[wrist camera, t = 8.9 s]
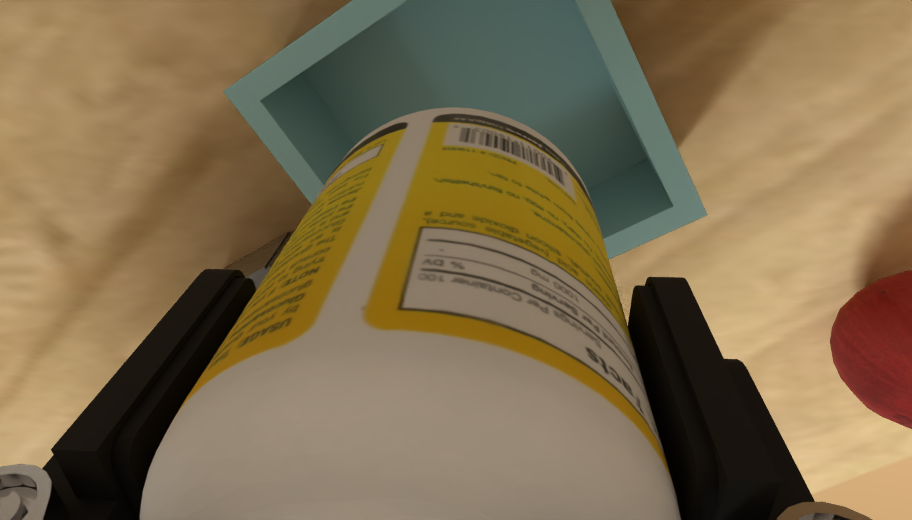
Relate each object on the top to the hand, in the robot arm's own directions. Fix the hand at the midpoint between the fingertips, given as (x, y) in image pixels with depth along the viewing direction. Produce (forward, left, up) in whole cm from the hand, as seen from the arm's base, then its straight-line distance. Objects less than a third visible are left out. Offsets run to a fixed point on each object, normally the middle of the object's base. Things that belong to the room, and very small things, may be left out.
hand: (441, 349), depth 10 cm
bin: (0, 0, -15) cm, 15 cm away
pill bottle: (0, 0, -4) cm, 4 cm away
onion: (-16, -10, -15) cm, 24 cm away
